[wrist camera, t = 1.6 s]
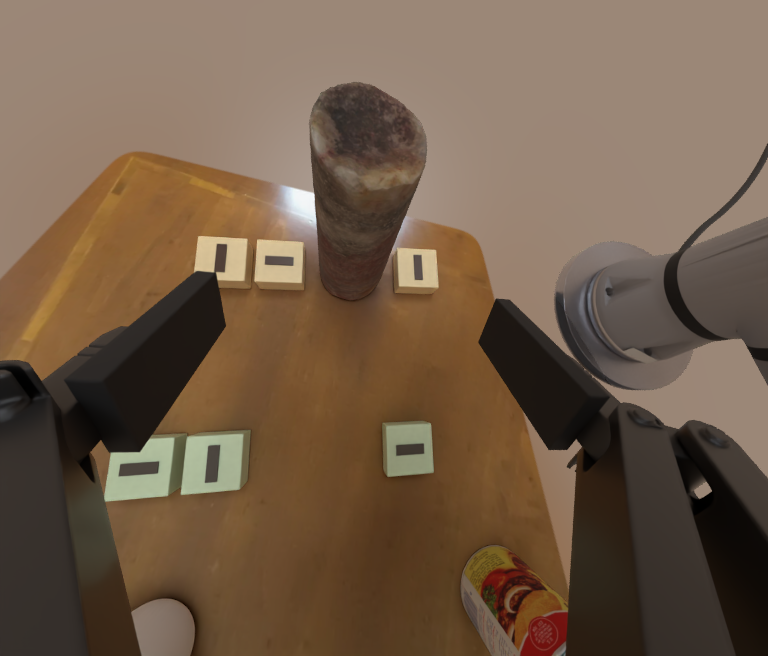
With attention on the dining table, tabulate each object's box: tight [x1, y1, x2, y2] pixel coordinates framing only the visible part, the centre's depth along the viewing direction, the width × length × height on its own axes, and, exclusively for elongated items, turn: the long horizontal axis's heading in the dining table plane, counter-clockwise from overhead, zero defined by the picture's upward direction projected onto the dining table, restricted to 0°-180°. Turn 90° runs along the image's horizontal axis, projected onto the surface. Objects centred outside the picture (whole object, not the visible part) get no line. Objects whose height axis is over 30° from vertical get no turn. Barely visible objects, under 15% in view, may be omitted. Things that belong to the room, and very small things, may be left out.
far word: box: [194, 236, 438, 294], centre depth 33 cm, size 27×5×3 cm, turn 92°
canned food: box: [461, 545, 568, 656], centre depth 25 cm, size 8×8×12 cm
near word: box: [104, 421, 434, 502], centre depth 28 cm, size 30×5×3 cm, turn 92°
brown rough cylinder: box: [309, 82, 427, 300], centre depth 25 cm, size 8×7×20 cm
